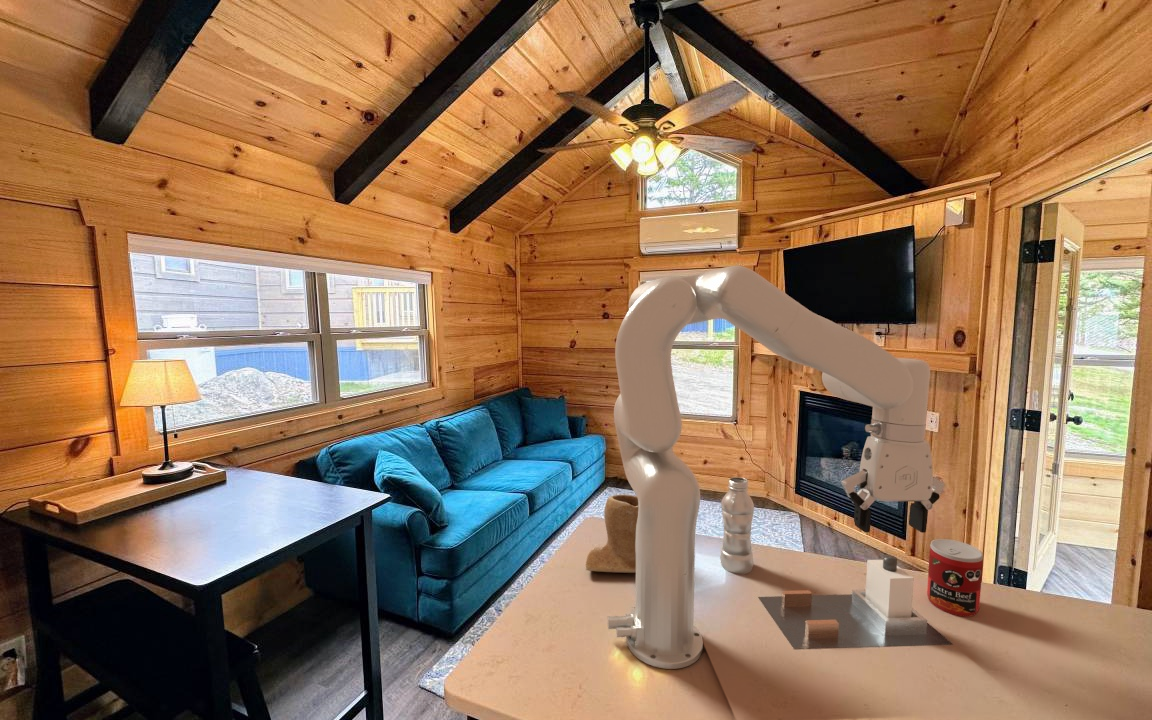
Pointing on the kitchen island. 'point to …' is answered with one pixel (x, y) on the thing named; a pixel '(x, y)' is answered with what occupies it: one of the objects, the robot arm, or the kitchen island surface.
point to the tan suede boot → (617, 537)
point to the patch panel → (845, 622)
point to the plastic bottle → (737, 527)
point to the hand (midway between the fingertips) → (889, 529)
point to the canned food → (954, 577)
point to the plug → (889, 587)
